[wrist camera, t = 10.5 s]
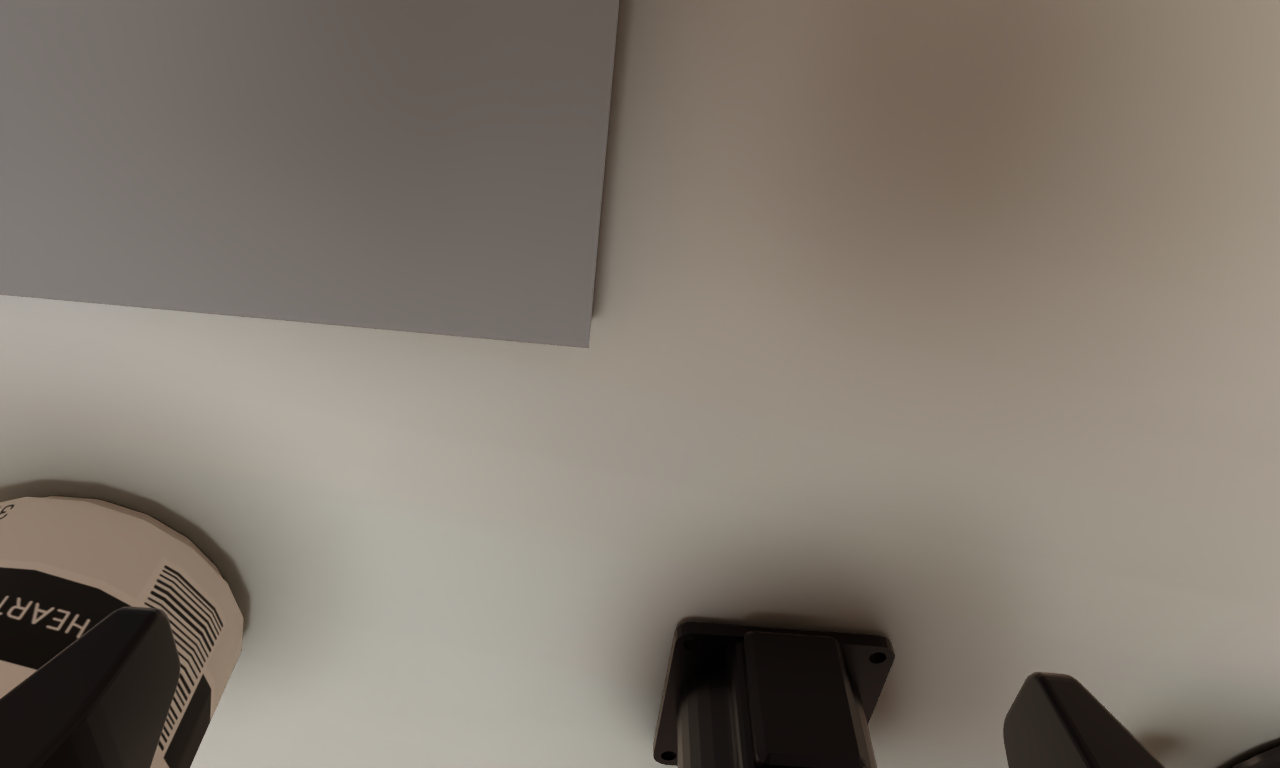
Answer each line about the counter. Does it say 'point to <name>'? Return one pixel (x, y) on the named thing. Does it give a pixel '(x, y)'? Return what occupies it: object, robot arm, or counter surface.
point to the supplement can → (114, 600)
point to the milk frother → (1263, 760)
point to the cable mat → (310, 159)
